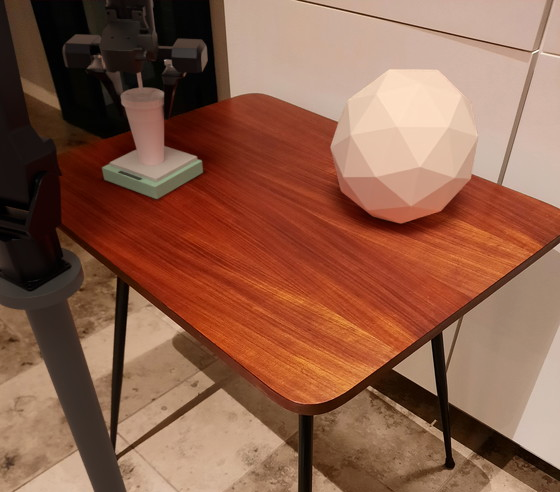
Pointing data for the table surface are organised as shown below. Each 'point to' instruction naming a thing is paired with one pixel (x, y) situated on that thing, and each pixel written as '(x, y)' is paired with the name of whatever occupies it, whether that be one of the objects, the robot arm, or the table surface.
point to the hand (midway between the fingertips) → (145, 118)
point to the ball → (405, 144)
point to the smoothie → (146, 121)
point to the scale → (153, 172)
